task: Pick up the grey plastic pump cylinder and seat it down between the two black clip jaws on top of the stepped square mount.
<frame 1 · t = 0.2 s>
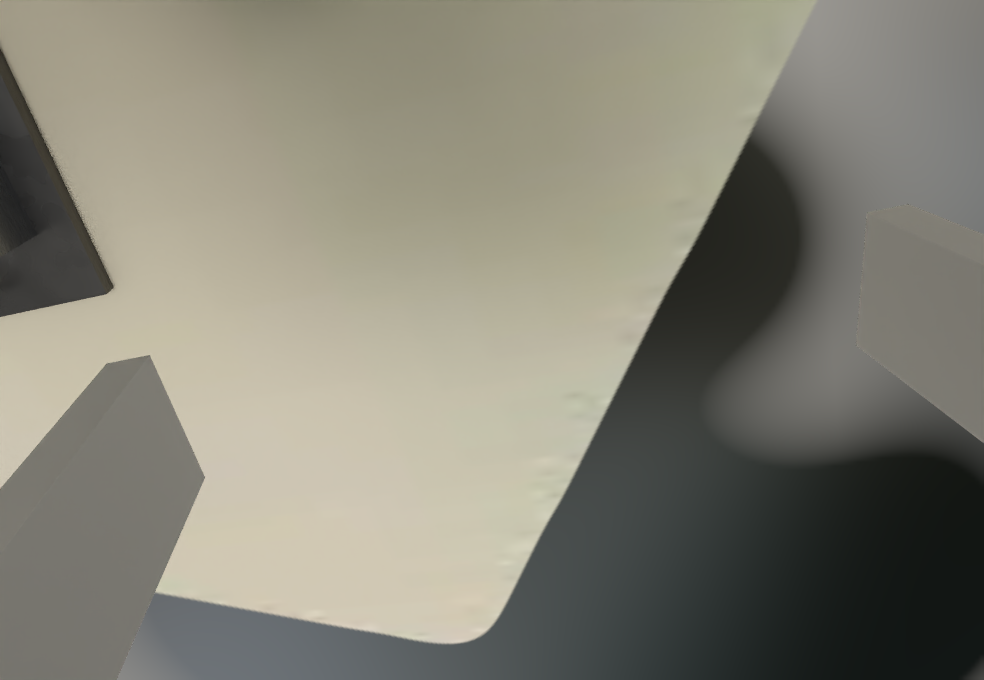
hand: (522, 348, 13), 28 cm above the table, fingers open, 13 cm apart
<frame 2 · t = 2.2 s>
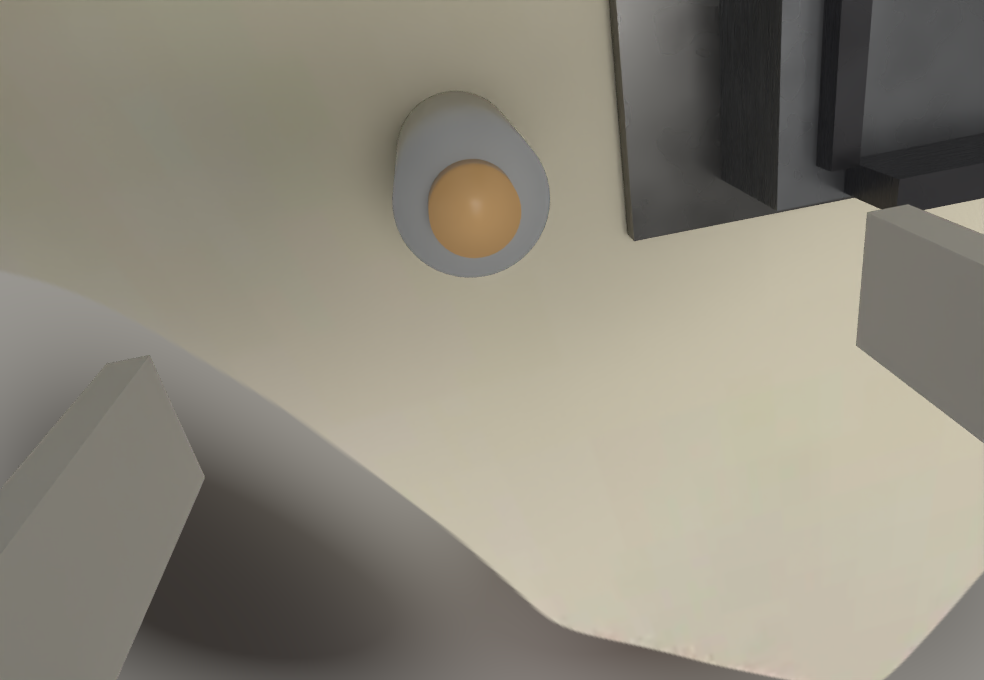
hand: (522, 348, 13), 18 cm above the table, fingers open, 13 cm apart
stepped square mount: (851, 27, 28), on the table
pump: (456, 153, 29), on the table
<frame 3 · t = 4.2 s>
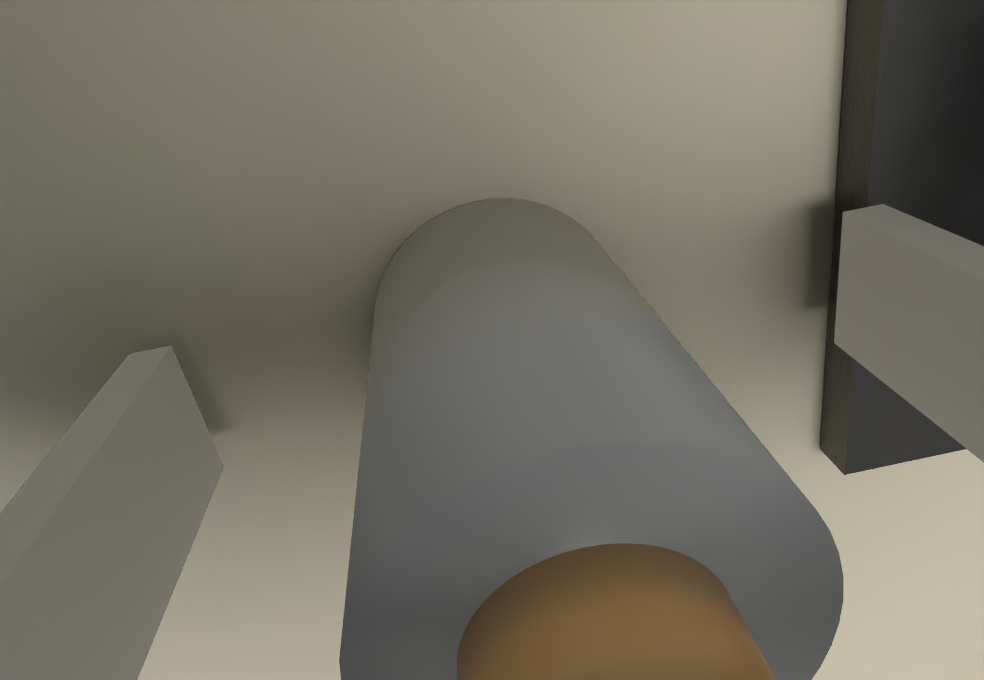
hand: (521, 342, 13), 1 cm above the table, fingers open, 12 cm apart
pump: (499, 320, 14), on the table
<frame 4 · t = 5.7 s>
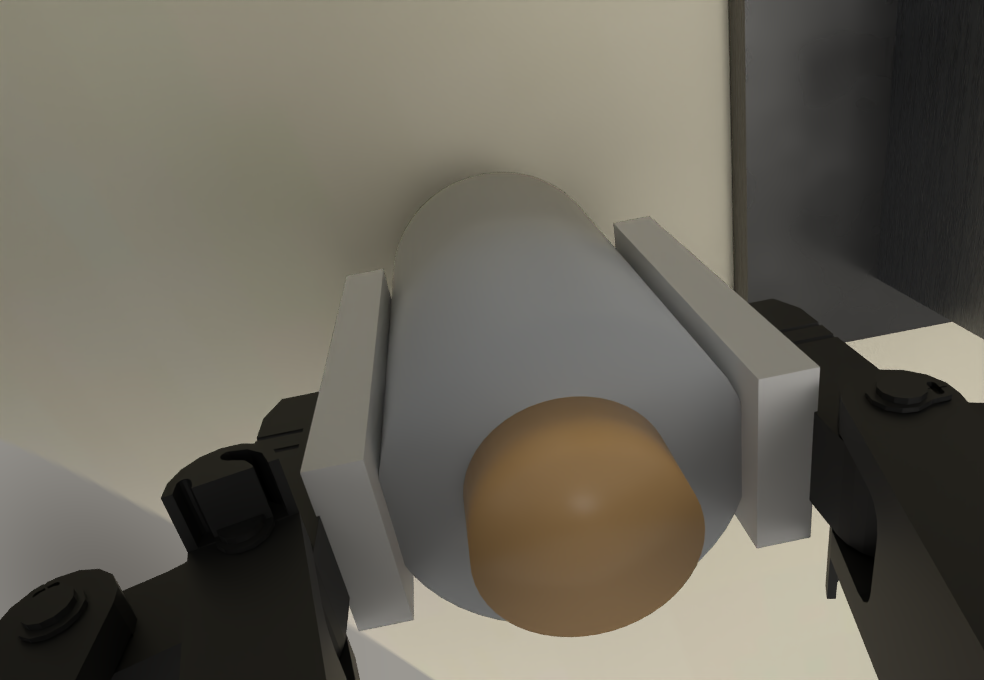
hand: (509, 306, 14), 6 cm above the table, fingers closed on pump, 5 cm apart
pump: (499, 277, 16), point 4 cm above the table, touching gripper
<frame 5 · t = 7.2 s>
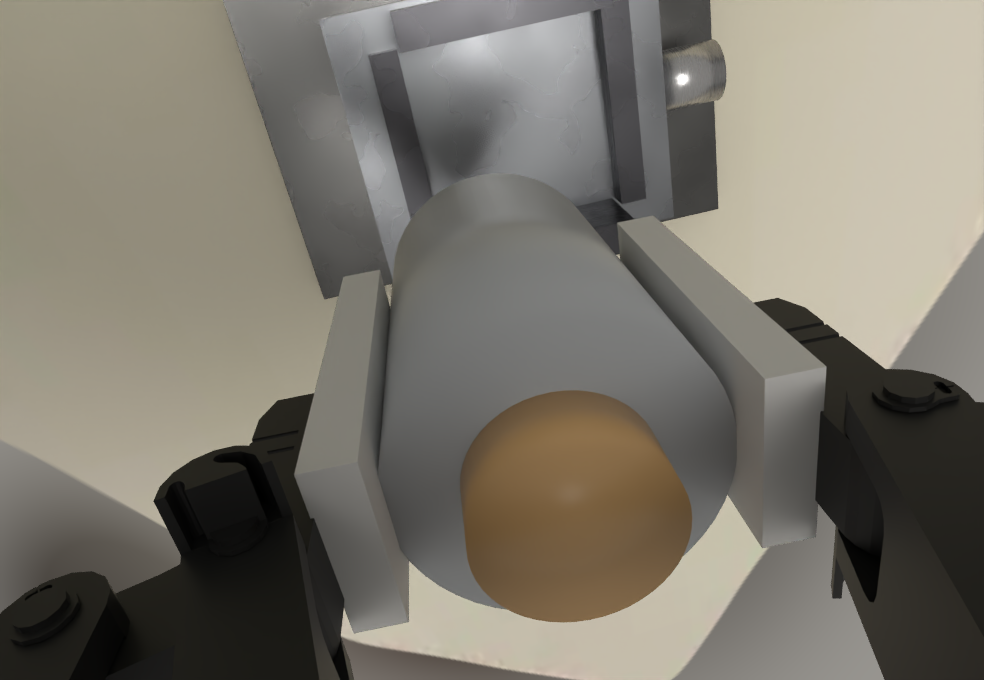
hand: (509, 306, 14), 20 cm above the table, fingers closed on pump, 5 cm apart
stepped square mount: (493, 105, 31), on the table
pump: (497, 276, 17), point 17 cm above the table, touching gripper
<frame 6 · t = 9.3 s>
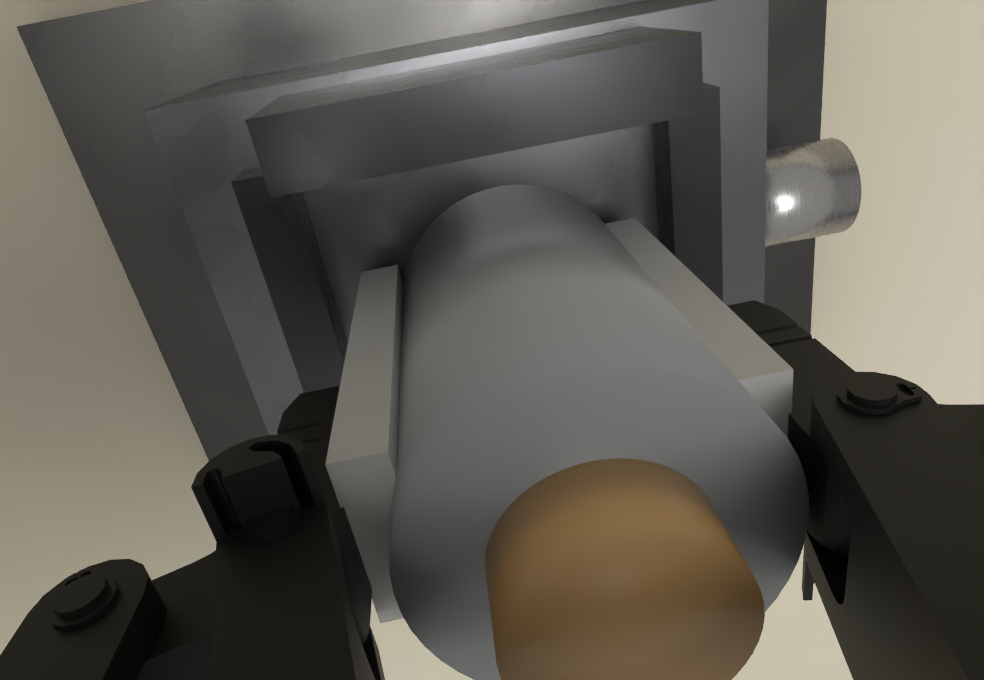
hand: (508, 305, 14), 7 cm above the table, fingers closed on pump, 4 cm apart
stepped square mount: (477, 216, 20), on the table
pump: (515, 296, 15), point 6 cm above the table, touching gripper, stepped square mount
when the fingers open (7 cm above the table, at t = 10.5 s): pump stays where it is, resting on stepped square mount.
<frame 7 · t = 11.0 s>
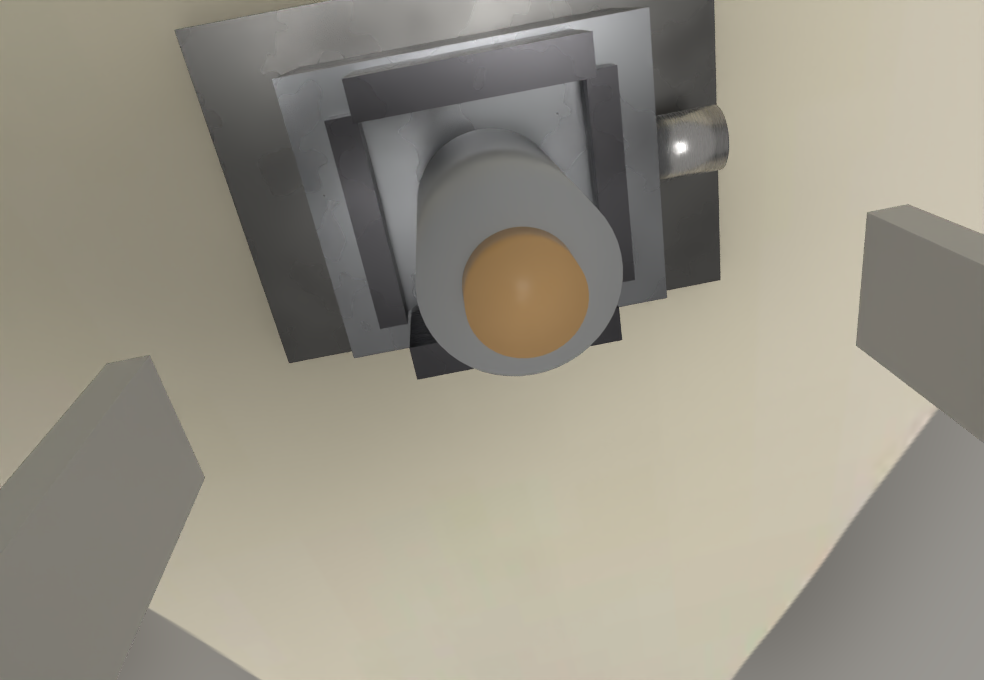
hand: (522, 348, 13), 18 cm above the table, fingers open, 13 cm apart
stepped square mount: (476, 164, 29), on the table
pump: (490, 203, 24), point 6 cm above the table, touching stepped square mount
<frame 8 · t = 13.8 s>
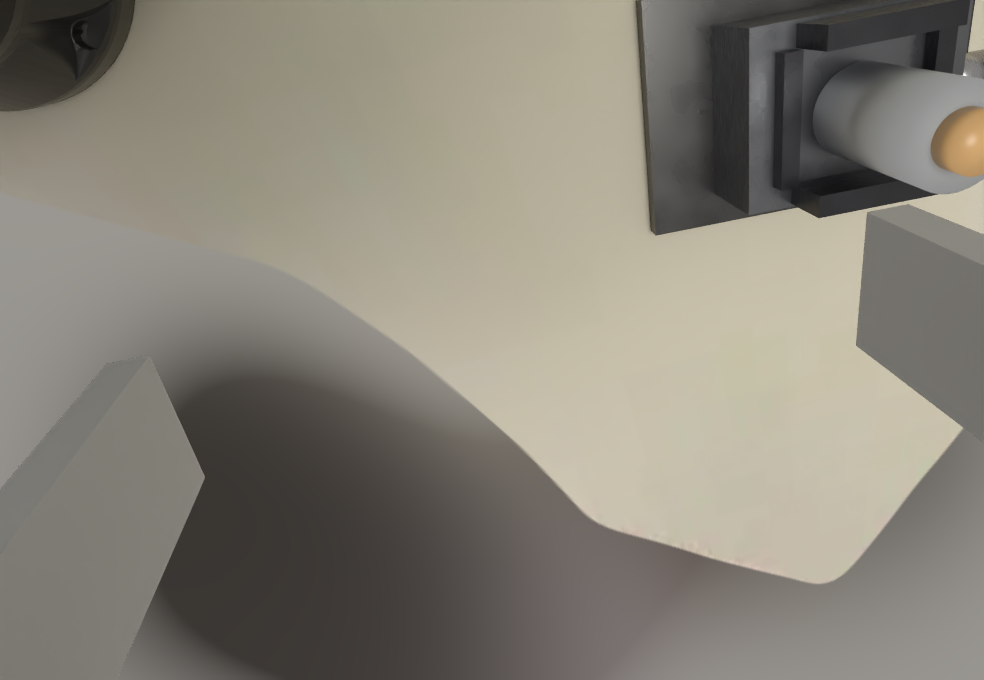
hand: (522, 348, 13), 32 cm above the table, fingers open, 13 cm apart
stepped square mount: (800, 93, 43), on the table
pump: (856, 109, 37), point 6 cm above the table, touching stepped square mount
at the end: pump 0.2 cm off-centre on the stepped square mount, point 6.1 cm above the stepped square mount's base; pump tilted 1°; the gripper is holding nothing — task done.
